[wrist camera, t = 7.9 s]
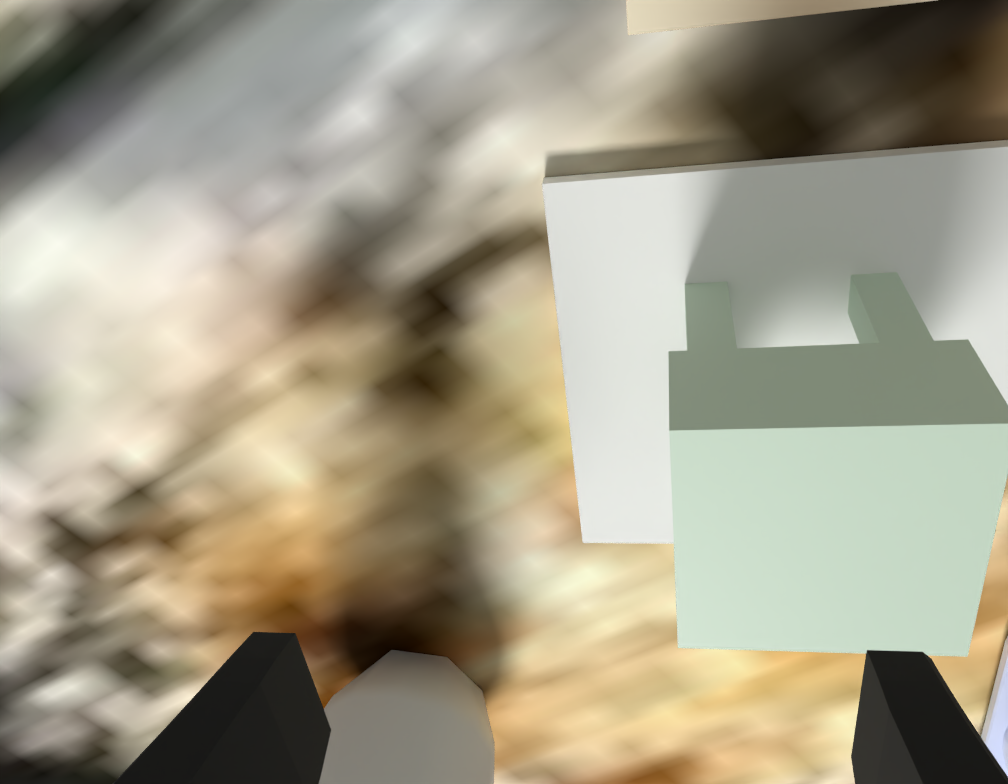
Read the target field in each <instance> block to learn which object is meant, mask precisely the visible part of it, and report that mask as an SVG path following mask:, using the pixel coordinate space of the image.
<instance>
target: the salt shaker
mask: <svg viewBox="0 0 1008 784" xmlns="http://www.w3.org/2000/svg"><path fill="white" fill-rule="evenodd" d="M324 712H325V714H326V717H327V720H328V722H329V725H330V728H331V733H330V738H329V742H328V746H327V751H326V755H325V760H324V764H323V768H322V773H321V777H320V781H319V784H494V739H493V734H492V730H491V726H490V721H489V717H488V713H487V709H486V704H485V700H484V696H483V691H482V690H481V689H480V688H479V687H478V686H477V685H476V684H475V683H474V682H473V681H472V680H471V679H470V678H468V677H467V676H466V675H465V674H464V673H463V672H462V671H461V670H460V669H459V668H458V667H457V666H456V665H455V664H454V663H453V662H452V661H451V660H450V659H449V658H448V657H443V656H435V655H428V654H420V653H413V652H405V651H398V650H391V651H389V652H388V653H387V654H386V655H384V656H383V657H382V658H381V659H379V660H378V661H377V662H376V663H374V664H373V665H372V666H370V667H369V668H368V669H367V670H365V671H364V672H363V673H362V674H360V675H359V676H358V677H357V678H355V679H354V680H353V681H351V682H350V683H349V684H348V685H346V686H345V687H344V688H343V689H341V690H340V691H339V692H337V693H336V694H335V695H334V696H333V697H332V698H331V700H330V701H329V703H328V704H327V705H326V707H325V708H324Z"/></svg>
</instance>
